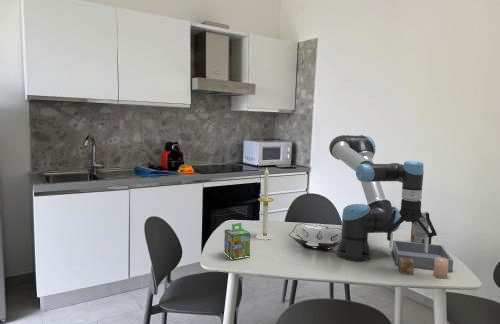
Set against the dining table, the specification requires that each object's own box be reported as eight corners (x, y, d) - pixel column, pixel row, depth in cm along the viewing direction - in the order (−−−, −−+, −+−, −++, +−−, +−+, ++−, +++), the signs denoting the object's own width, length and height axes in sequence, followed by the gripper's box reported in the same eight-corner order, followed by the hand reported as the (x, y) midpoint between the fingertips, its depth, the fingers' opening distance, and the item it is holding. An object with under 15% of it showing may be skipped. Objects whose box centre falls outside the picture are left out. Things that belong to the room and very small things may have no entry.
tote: (397, 265, 160) (397, 254, 160) (392, 250, 179) (393, 240, 179) (452, 271, 155) (453, 260, 154) (441, 255, 174) (442, 245, 173)
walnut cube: (400, 273, 152) (401, 261, 152) (398, 268, 157) (399, 257, 157) (413, 274, 151) (414, 263, 151) (411, 270, 156) (412, 258, 155)
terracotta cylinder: (434, 277, 149) (436, 260, 148) (432, 272, 154) (433, 256, 153) (448, 279, 148) (449, 262, 147) (445, 274, 153) (446, 257, 152)
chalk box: (231, 261, 161) (232, 228, 160) (223, 254, 169) (224, 222, 168) (250, 257, 166) (251, 225, 164) (241, 251, 174) (242, 220, 172)
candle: (257, 233, 201) (258, 165, 196) (275, 235, 199) (277, 166, 194) (253, 239, 191) (255, 167, 187) (272, 241, 189) (275, 168, 185)
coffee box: (409, 241, 193) (412, 211, 191) (422, 242, 192) (425, 212, 190) (413, 247, 184) (416, 215, 183) (427, 248, 183) (430, 216, 181)
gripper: (379, 198, 150) (376, 249, 152) (447, 203, 144) (443, 256, 146) (378, 195, 157) (375, 244, 160) (442, 199, 151) (439, 250, 153)
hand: (408, 250), depth 153 cm, fingers open, 13 cm apart
